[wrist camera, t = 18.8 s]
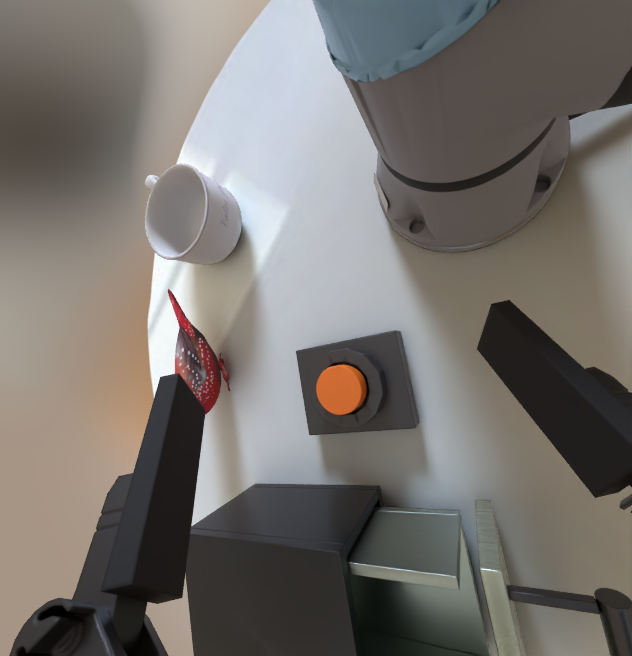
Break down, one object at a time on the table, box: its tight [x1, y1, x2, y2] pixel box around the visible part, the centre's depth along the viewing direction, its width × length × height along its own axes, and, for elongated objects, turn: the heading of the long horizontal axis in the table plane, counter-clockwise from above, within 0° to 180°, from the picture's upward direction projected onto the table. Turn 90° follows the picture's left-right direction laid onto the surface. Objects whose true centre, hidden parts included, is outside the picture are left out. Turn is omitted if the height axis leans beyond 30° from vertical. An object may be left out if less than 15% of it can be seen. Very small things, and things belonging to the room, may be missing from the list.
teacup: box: [145, 164, 242, 265], centre depth 38 cm, size 14×11×8 cm
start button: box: [316, 365, 367, 415], centre depth 28 cm, size 4×4×2 cm
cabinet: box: [185, 484, 383, 656], centre depth 28 cm, size 16×14×11 cm
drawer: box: [346, 500, 632, 656], centre depth 22 cm, size 21×13×9 cm, turn 101°
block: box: [296, 331, 419, 435], centre depth 30 cm, size 11×9×4 cm
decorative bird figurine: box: [168, 289, 230, 414], centre depth 36 cm, size 3×18×10 cm, turn 21°
